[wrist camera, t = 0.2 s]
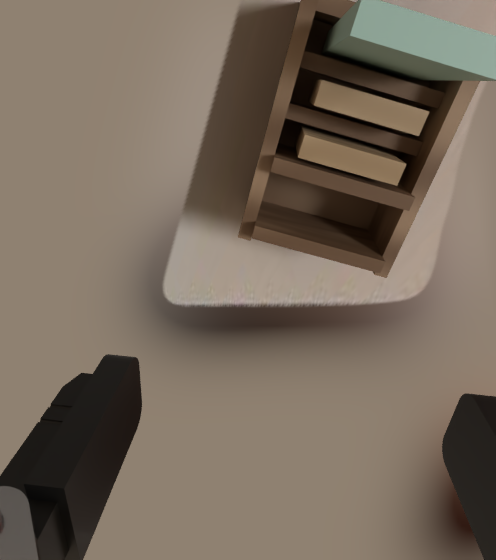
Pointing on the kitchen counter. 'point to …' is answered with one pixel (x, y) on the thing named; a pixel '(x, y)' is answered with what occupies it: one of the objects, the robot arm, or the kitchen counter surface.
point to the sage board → (411, 44)
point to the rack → (334, 182)
